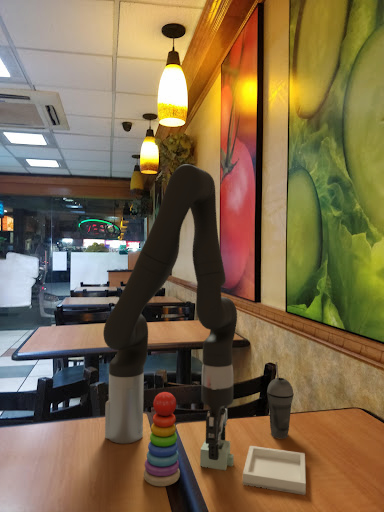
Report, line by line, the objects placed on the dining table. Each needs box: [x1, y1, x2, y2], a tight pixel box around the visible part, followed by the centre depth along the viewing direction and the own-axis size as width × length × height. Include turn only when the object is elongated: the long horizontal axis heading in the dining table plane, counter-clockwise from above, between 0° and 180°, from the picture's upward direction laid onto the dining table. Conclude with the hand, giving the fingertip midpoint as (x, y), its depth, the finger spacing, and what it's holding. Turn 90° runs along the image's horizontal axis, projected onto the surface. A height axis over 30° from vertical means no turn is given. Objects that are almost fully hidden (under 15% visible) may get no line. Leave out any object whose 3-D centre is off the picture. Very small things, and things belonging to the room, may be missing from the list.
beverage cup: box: [266, 361, 295, 440], centre depth 109 cm, size 7×7×20 cm
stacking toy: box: [143, 391, 181, 487], centre depth 88 cm, size 8×8×19 cm
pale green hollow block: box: [199, 438, 235, 471], centre depth 95 cm, size 7×6×4 cm
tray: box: [242, 445, 307, 496], centre depth 90 cm, size 13×13×2 cm
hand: (217, 450), depth 95 cm, fingers open, 8 cm apart
